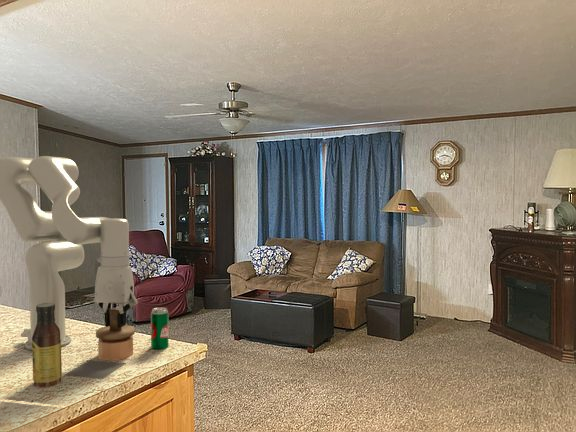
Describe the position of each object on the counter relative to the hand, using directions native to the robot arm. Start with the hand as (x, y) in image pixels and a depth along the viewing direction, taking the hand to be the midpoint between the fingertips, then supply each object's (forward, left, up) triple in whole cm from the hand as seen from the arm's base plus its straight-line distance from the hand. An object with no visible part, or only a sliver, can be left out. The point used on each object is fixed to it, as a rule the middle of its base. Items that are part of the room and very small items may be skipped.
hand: (115, 325), depth 133 cm
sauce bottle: (-5, -22, -9) cm, 24 cm away
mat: (+1, -11, -9) cm, 14 cm away
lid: (0, 0, -3) cm, 3 cm away
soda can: (+9, +9, -9) cm, 16 cm away
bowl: (0, 0, -9) cm, 9 cm away
